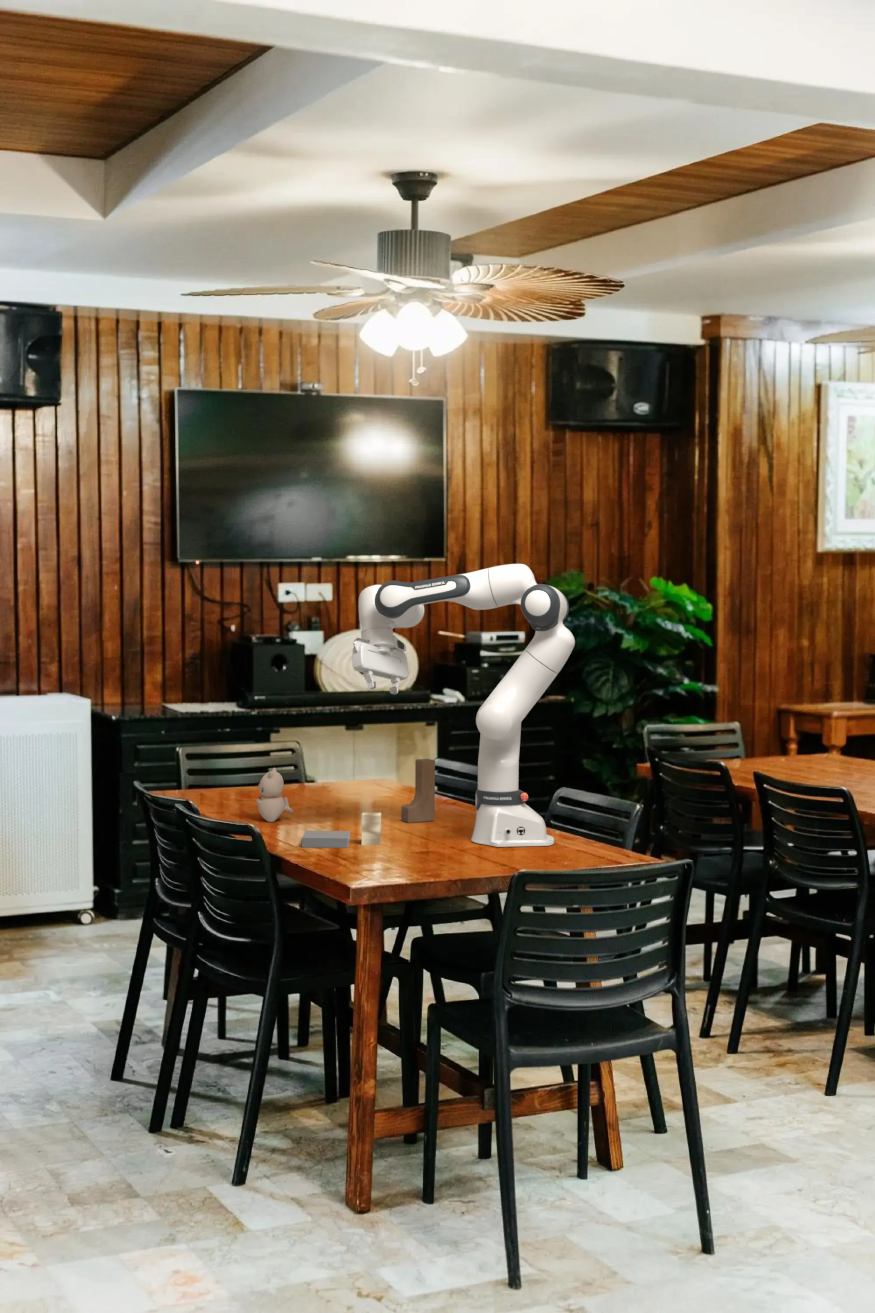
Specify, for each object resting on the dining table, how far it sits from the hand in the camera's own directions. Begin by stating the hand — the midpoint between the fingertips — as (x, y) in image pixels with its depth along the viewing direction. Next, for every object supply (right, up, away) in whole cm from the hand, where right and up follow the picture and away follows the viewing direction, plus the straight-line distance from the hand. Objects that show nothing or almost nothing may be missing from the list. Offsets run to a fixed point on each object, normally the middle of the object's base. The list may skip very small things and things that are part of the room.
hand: (383, 691), depth 418 cm
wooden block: (+9, -39, +31) cm, 51 cm away
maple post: (-3, -41, -8) cm, 42 cm away
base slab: (-15, -41, -9) cm, 44 cm away
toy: (-33, -39, +31) cm, 60 cm away
